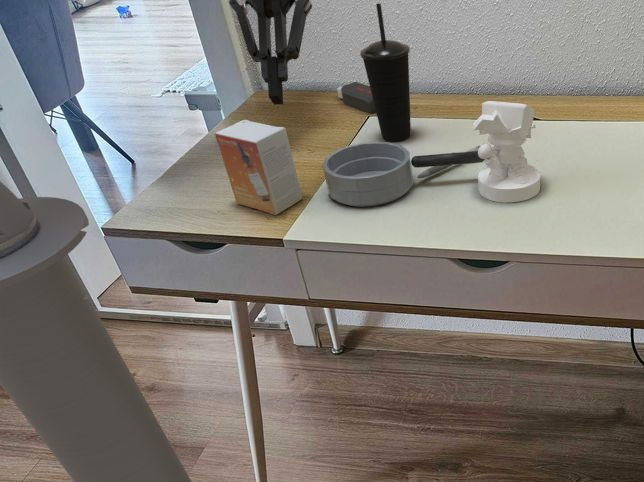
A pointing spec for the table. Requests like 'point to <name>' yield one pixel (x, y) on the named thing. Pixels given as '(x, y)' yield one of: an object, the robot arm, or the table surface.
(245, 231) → the table surface
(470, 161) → the pan handle
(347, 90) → the usb drive
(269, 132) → the small box
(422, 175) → the pen
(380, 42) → the drinking cup
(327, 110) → the table surface
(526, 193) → the character figurine
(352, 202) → the pan
